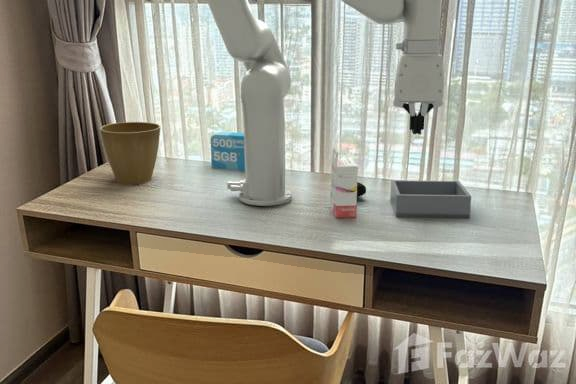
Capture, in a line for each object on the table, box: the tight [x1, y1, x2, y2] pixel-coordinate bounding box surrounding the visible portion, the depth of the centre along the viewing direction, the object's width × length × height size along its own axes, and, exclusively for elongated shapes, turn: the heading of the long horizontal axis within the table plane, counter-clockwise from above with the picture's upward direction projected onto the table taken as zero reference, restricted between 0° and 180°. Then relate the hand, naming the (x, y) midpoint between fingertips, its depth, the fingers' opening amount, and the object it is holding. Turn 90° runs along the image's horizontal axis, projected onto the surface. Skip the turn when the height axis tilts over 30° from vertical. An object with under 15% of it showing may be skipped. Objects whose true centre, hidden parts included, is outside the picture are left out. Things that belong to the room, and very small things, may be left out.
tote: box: [389, 179, 472, 219], centre depth 139 cm, size 16×13×5 cm
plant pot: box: [99, 121, 161, 186], centre depth 157 cm, size 15×15×16 cm
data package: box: [210, 131, 245, 172], centre depth 168 cm, size 12×4×12 cm, turn 74°
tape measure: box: [357, 181, 367, 198], centre depth 147 cm, size 7×7×4 cm
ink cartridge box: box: [329, 145, 359, 219], centre depth 135 cm, size 9×5×15 cm, turn 4°
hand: (416, 133), depth 135 cm, fingers closed
